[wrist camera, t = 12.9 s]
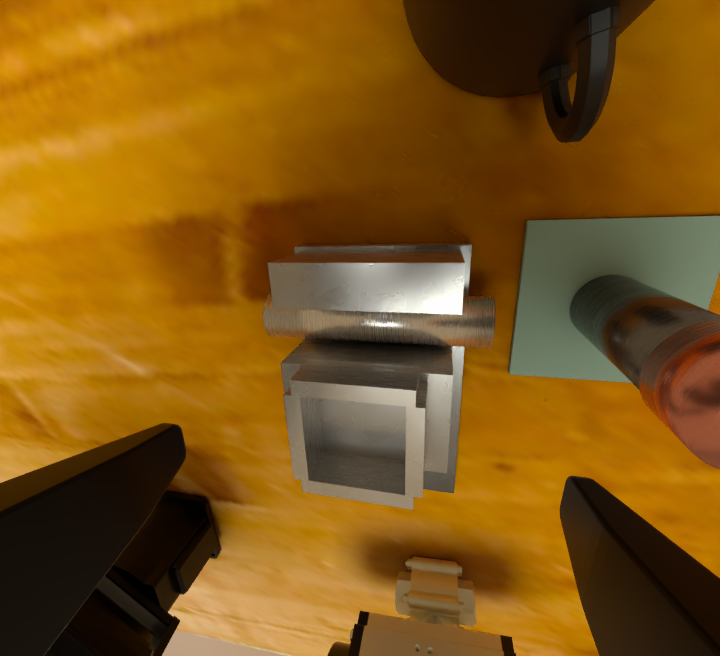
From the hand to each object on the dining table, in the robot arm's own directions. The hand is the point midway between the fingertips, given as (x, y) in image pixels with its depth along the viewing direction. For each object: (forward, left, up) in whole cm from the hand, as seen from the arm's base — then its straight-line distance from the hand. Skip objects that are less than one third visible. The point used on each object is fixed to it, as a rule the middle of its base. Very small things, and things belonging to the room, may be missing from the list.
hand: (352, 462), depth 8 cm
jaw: (-1, -4, -11) cm, 11 cm away
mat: (+10, +1, -12) cm, 16 cm away
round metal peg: (+10, +1, -12) cm, 15 cm away
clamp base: (-1, -4, -12) cm, 13 cm away
